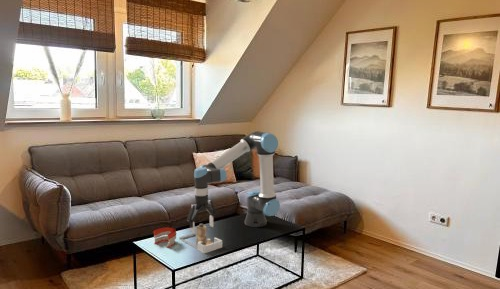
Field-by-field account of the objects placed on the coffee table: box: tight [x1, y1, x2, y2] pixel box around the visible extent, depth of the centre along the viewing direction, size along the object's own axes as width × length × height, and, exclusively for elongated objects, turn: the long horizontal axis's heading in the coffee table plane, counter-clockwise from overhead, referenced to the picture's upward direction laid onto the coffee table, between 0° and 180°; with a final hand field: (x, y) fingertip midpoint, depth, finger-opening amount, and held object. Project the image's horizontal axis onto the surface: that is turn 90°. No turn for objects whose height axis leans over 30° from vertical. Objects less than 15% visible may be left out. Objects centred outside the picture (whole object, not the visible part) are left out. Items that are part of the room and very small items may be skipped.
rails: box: [178, 232, 214, 249], centre depth 220 cm, size 12×20×1 cm, turn 44°
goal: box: [196, 237, 223, 254], centre depth 210 cm, size 13×6×4 cm, turn 134°
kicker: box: [196, 223, 212, 246], centre depth 215 cm, size 8×6×12 cm
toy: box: [153, 226, 177, 249], centre depth 217 cm, size 12×10×8 cm
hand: (202, 229), depth 215 cm, fingers open, 13 cm apart
